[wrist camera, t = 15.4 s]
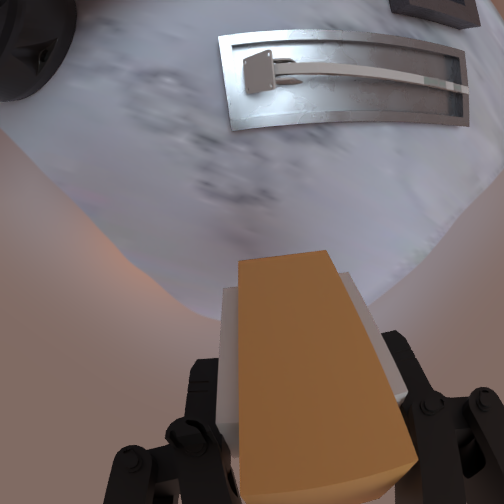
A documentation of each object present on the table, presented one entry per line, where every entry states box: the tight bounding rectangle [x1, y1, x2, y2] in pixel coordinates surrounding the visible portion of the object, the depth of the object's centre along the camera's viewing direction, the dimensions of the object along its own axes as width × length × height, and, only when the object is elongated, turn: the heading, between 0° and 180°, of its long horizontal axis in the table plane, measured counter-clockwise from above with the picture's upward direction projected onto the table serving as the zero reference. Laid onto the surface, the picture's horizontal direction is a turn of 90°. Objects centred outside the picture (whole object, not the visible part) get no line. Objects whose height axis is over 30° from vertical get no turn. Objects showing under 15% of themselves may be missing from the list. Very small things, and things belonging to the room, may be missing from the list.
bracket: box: [243, 49, 469, 94], centre depth 21 cm, size 3×21×10 cm, turn 96°
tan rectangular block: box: [238, 250, 418, 504], centre depth 10 cm, size 4×4×10 cm
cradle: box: [218, 30, 469, 131], centre depth 23 cm, size 26×9×2 cm, turn 97°
